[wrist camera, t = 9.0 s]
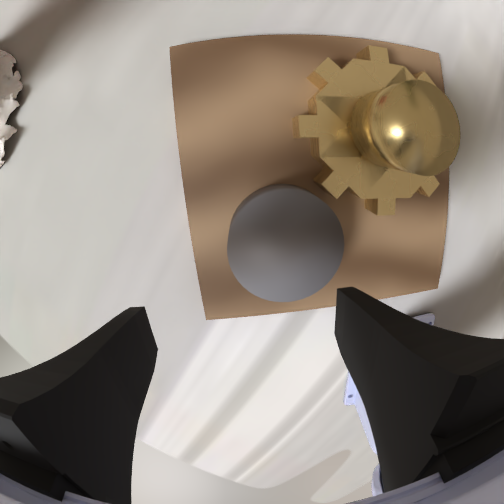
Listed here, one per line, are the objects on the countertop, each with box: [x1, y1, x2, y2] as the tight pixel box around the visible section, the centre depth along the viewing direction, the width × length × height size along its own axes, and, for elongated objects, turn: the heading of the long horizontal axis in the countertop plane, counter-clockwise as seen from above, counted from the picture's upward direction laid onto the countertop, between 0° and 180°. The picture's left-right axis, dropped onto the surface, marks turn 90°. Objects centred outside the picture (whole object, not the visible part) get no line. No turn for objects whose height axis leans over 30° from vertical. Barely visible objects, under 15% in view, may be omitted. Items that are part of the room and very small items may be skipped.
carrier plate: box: [170, 35, 449, 320], centre depth 16 cm, size 18×18×4 cm
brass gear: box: [292, 45, 460, 216], centre depth 13 cm, size 10×10×6 cm
